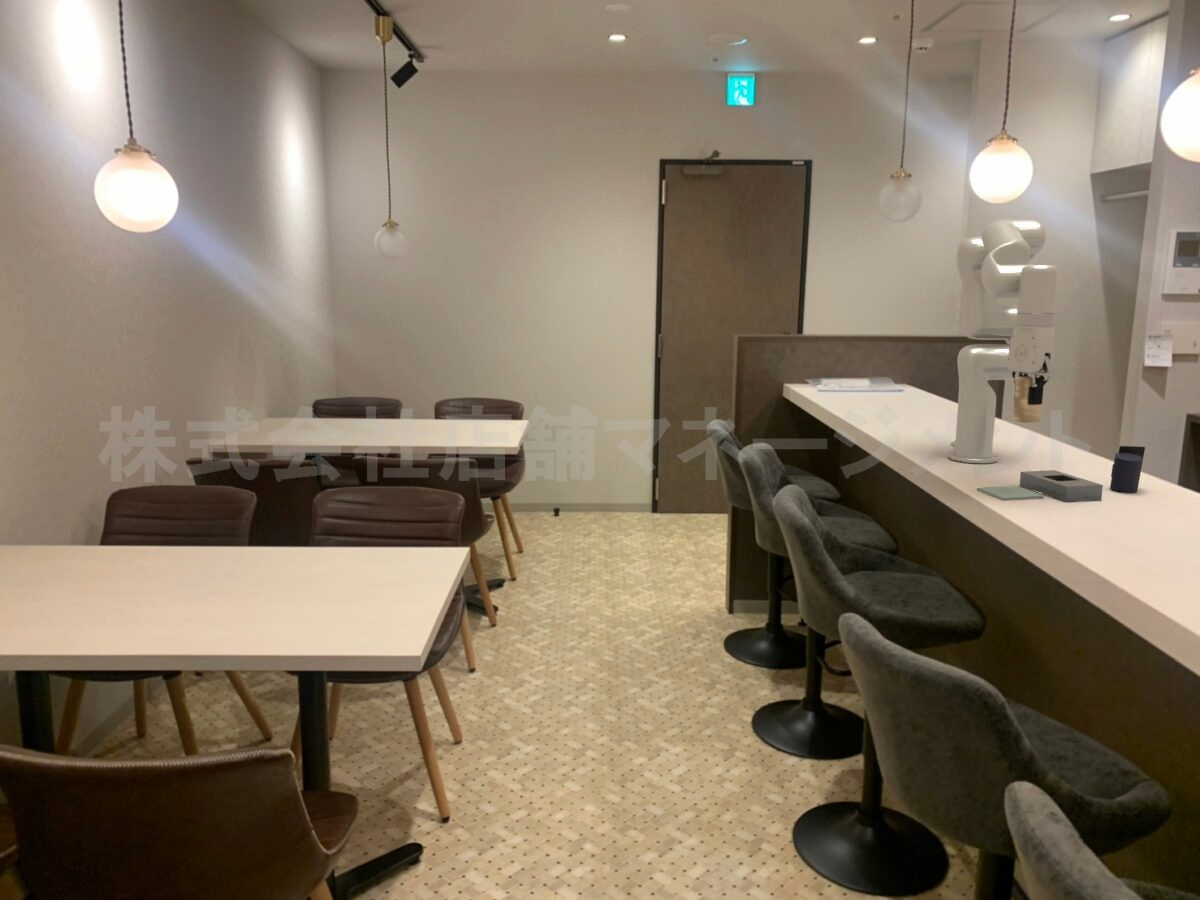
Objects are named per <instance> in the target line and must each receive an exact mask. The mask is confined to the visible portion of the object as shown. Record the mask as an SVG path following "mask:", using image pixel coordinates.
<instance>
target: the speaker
mask: <svg viewBox="0 0 1200 900" xmlns="http://www.w3.org/2000/svg"><path fill="white" fill-rule="evenodd" d="M1118 447H1119V448H1118V452H1117V453H1115V454H1114V461H1113V464H1112V469H1111V473H1110V478H1111V479H1110V486H1109V489H1111V490H1113V491H1115V492H1118V491H1120V492H1119V493H1123V492H1126V493H1125V494H1135V493H1137V492H1138V489H1139V485H1140V478H1141V472H1142V466H1143V463H1144V462H1143V460H1144V455H1145V449H1146V447H1145V446H1130V445H1119V446H1118Z"/></svg>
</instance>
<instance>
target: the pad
mask: <svg viewBox="0 0 1200 900" xmlns="http://www.w3.org/2000/svg"><path fill="white" fill-rule="evenodd" d="M976 491H977V492H980V491H981V493H983V494H985V493H986V495H989V496H992V497H993V498H996V499H998V498H999V499H998V500H1001V499H1002V500H1001V501H1012V500H1011V499H1021V500H1031V499H1030V498H1040V499H1044V494H1041V493H1038V492H1035V491H1032V490H1030V489H1027V488H1024V487H1021V486H1017V485H1003V486H985V487H983V486H982V487H976Z"/></svg>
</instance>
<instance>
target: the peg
mask: <svg viewBox="0 0 1200 900" xmlns="http://www.w3.org/2000/svg"><path fill="white" fill-rule="evenodd" d="M1038 378H1039V376H1037V379H1038ZM1029 387H1032V385H1031V375H1029V376H1021V377H1016V389H1015V388H1014V395H1015V401H1014V400H1013V401H1014V402H1013V403H1014V404H1013V413H1012V421H1015V422H1019V423H1024V424H1026V423H1027V424H1028V423H1041V417H1042V405H1043V403H1042V404H1040V405H1029V404H1028V397H1029Z"/></svg>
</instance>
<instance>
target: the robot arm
mask: <svg viewBox="0 0 1200 900" xmlns="http://www.w3.org/2000/svg"><path fill="white" fill-rule="evenodd" d="M1046 234H1047V233H1046V229H1045V227H1044V224H1043V223H1042V222H1040V221H1039V220H1037V219H1034V218H1033V219H1032V218H1030V219H1020V218H1019V219H1015V218H1014V219H997V220H994V221H992V222H990V223H988V224H987V225H986V226H985V227H984V229H983V230H982V232H981V235H980V236H972V237H968V238H965V239H964V240H962V241H961V242H960V243H959V245H958V247H957V251H956V265H957V270H958V275H959V278H960V281H961V284H962V285H961V286H962V288H963V330H964V335H965V336H966V338H968V339H971V340H984V341H985V340H986V341H987V340H988V341H995V340H996V341H999V340H1000V341H1001V340H1003V341H1005V342H1006V344H1005V343H1004V344H997V343H996V344H995V343H974V344H969V345H966V346H964V347H963V348H961V349H960V350H959V352H958V355H957V359H956V360H957V371H958V397H957V399H958V400H957V414H956V415H957V416H956V427H955V428H956V429H955V430H956V431H955V440H954V441H952V442H950V447H953V451H951V452H949V453H948V457H949V458H950V460H952V461H955V460H956V462H960V461H961V462H960V463H969V464H992V463H997V462H998V460H999V457H998V455H996V454H993V446H994V433H995V420H996V410H997V409H996V408H997V407H996V406H997V395H996V392H995V391H994V389H993V388H992V387H991V385H990V384H989V383H988V381H993V380H995V381H1013V384H1014V390H1015V389H1016V377H1021V376H1031V385H1032V387H1029V397H1028V404H1029V405H1040V404H1042V405H1043V398H1044V397H1043V396H1044V388H1045V387H1046V386H1047V383H1048V382H1049V380H1051V378H1053V377H1054V376H1055V372H1054V362H1055V351H1056V350H1055V349H1056V348H1055V345H1056V343H1055V342H1056V340H1055V330H1054V323H1055V312H1056V303H1057V302H1056V301H1057V293H1058V292H1057V290H1058V279H1059V270H1058V268H1057V266H1056V265H1051V264H1029V263H1030V262H1031V261H1033V260H1034V259H1035V257H1037V255H1039V254H1040V253H1041V251H1042V250H1043V248H1044V246H1045V243H1046V239H1047V238H1046ZM1012 298H1013V299H1017V304H1014V303H1012V304H1011V303H1010V304H1009V303H1002V304H1001V303H999V299H1012ZM1037 377H1039V378H1038V379H1037ZM1013 395H1014V397H1013V399H1014V400H1013V401H1015V394H1013ZM949 458H948V459H949Z"/></svg>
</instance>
